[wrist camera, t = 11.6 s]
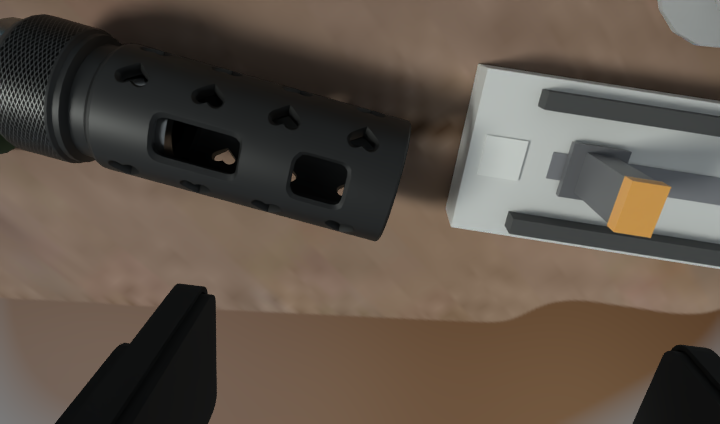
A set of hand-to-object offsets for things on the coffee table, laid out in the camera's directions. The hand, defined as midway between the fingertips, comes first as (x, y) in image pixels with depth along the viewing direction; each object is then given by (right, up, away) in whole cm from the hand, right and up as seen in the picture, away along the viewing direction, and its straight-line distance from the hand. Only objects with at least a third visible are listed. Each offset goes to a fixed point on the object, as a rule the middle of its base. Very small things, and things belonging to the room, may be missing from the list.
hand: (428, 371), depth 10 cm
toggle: (+15, +6, +25) cm, 30 cm away
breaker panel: (+20, +7, +29) cm, 35 cm away
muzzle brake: (-12, +11, +30) cm, 34 cm away
